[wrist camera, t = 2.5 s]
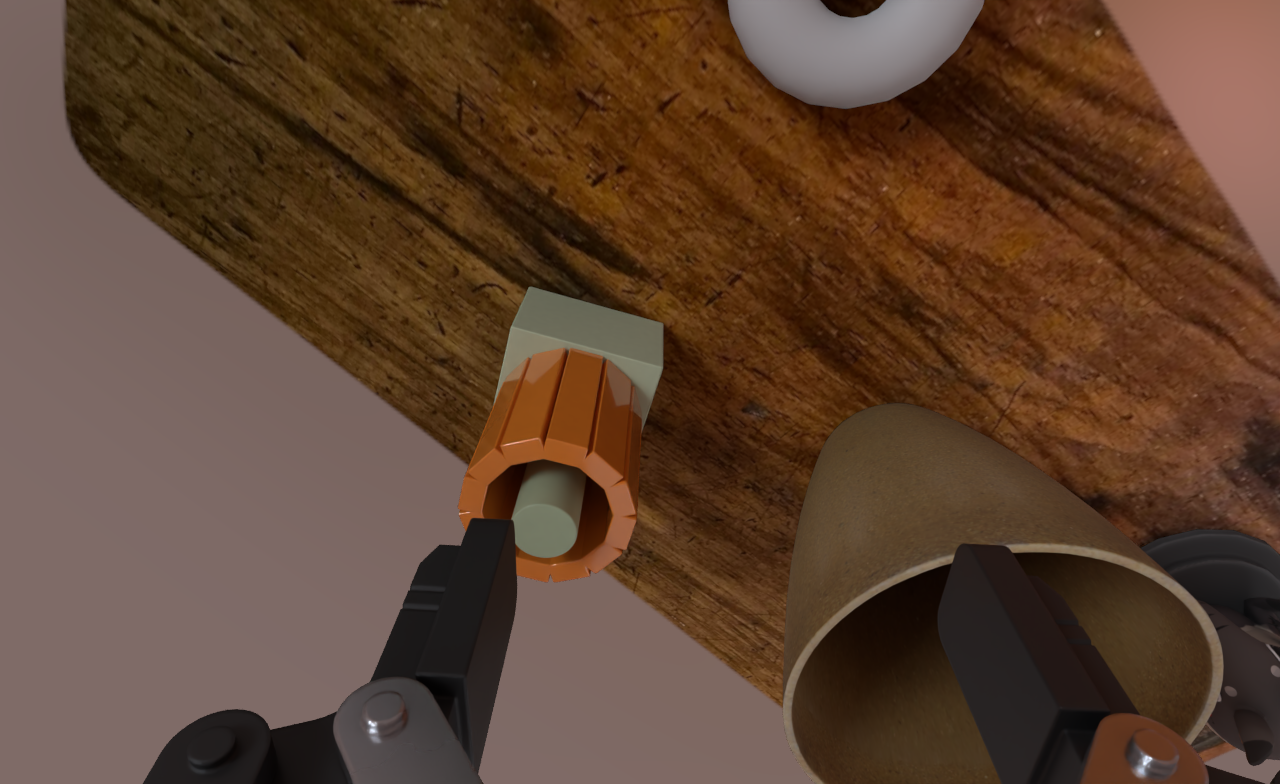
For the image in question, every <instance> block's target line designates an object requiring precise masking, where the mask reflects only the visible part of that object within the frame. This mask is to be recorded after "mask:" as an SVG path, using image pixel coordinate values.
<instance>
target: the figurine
mask: <svg viewBox="0 0 1280 784" xmlns="http://www.w3.org/2000/svg"><path fill="white" fill-rule="evenodd" d="M1140 549H1142V550H1143V551H1144V552H1145V553H1146V554H1147V555H1148V556H1150V557H1151V558H1152V559H1153V560H1154V561H1155V562H1156V563H1157V564H1159V565H1160V566H1161V567H1162V568H1163V569H1164V570H1165V571H1166V572H1167V573H1168V574H1170V575H1171V576H1172V577H1173V578H1174V579H1175V580H1176V581H1177V582H1178V583H1179V584H1180V585H1181V586H1183V587H1184V588H1185V589H1186V590H1187V591H1188V592H1189V593H1190V594H1191V595H1192V596H1193V597H1194V598H1195V599H1196V600H1197V601H1198V602H1199V603H1200V605H1201V606H1202V607H1203V609H1204V610H1205V611H1206V613H1207V614H1208V616H1209V618H1210V619H1211V621H1212V623H1213V625H1214V627H1215V629H1216V631H1217V634H1218V637H1219V640H1220V643H1221V647H1222V653H1223V664H1224V669H1223V681H1222V686H1221V691H1220V694H1219V697H1218V700H1217V702H1216V705H1215V708H1214V710H1213V712H1212V714H1211V715H1210V717H1209V719H1208V721H1207V722H1206V725H1207V726H1208V727H1209V728H1210V729H1211V730H1212V731H1213V732H1214V733H1216V734H1217V735H1218V736H1219V737H1221V738H1222V739H1223V740H1224V741H1226V742H1227V743H1229V744H1231V745H1233V746H1234V747H1236V748H1238V749H1240V750H1242V751H1244V752H1246V757H1247V760H1248V762H1249V764H1250V765H1253V766H1256V765H1259V764H1261V763H1262V762H1264V761H1265V760H1266V759H1273V760H1280V555H1279V554H1278V553H1277V552H1276V551H1275V550H1274V549H1273V548H1272V547H1271V546H1269V545H1268V544H1267V543H1266V542H1265V541H1263V540H1260V539H1257V538H1255V537H1252V536H1249V535H1246V534H1243V533H1240V532H1237V531H1235V530H1202V529H1196V530H1192V531H1188V532H1184V533H1180V534H1176V535H1171V536H1167V537H1163V538H1159V539H1157V540H1155V541H1153V542H1151V543H1149V544H1147V545H1145V546H1144V547H1142V548H1140Z"/></svg>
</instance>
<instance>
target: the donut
mask: <svg viewBox="0 0 1280 784" xmlns="http://www.w3.org/2000/svg"><path fill="white" fill-rule="evenodd" d="M983 3H984V0H886V1H885V2H884V3H883V4H882V5H881V6H880V7H879V8H878V9H877V10H875V11H873V12H871V13H870V14H868V15H865V16H860V17H856V18H850V17H842V16H839V15H837V14H835V13H833V12H831V11H830V10H828V9H827V8H826V6H825V5H824V4H823V3H822V2H821V1H820V0H728V6H729V14H730V20H731V23H732V25H733V27H734V29H735V31H736V34H737V36H738V38H739V40H740V42H741V44H742V47H743V49H744V51H745V53H746V55H747V58H748V59H749V60H750V61H751V62H752V63H753V64H754V65H755V66H756V67H757V69H758V70H759V71H760V72H761V73H762V74H763V75H764V76H765V77H766V78H767V79H768V80H769V81H770V82H771V83H772V85H773V86H774V87H776V88H778V89H780V90H782V91H784V92H786V93H788V94H790V95H792V96H794V97H796V98H797V99H799V100H801V101H803V102H805V103H807V104H812V105H820V106H827V107H835V108H843V109H849V108H854V107H859V106H864V105H869V104H874V103H879V102H884V101H888V100H890V99H892V98H894V97H896V96H898V95H899V94H901V93H903V92H905V91H907V90H909V89H910V88H912V87H914V86H916V85H918V84H920V83H921V82H923V81H925V80H926V79H927V78H928V77H929V76H930V75H931V74H932V73H933V72H934V71H936V70H937V69H938V68H939V67H940V66H941V65H942V64H943V63H944V62H945V61H946V60H947V59H948V58H949V57H950V56H951V55H952V54H953V53H954V52H955V51H956V50H957V49H958V48H959V46H960V44H961V43H962V41H963V39H964V38H965V36H966V34H967V33H968V31H969V29H970V28H971V26H972V24H973V23H974V21H975V19H976V18H977V16H978V14H979V13H980V11H981V9H982V7H983Z"/></svg>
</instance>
